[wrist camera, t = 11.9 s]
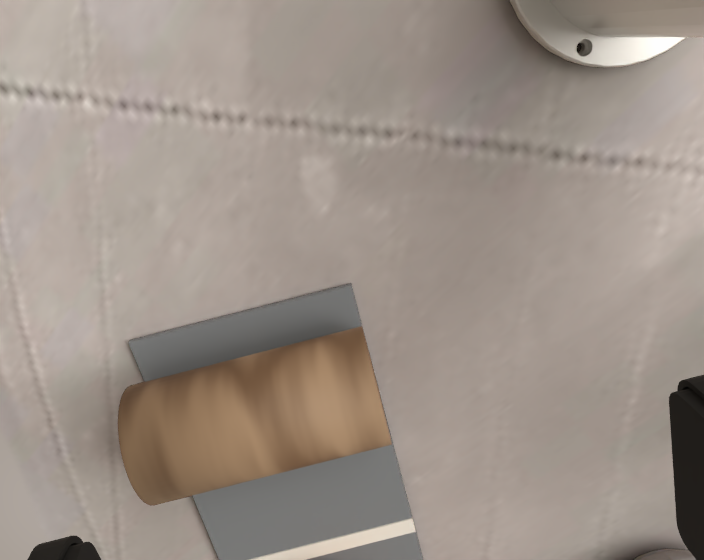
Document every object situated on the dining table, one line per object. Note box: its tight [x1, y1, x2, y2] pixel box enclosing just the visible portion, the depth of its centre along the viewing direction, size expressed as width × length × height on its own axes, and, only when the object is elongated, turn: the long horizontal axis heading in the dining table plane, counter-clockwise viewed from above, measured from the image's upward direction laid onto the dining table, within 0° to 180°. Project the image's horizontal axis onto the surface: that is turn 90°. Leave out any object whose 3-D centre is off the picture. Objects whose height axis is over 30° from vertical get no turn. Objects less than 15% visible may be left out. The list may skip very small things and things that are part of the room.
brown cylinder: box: [118, 326, 392, 505], centre depth 37 cm, size 14×7×7 cm, turn 104°
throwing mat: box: [129, 283, 423, 560], centre depth 44 cm, size 14×29×1 cm, turn 14°
